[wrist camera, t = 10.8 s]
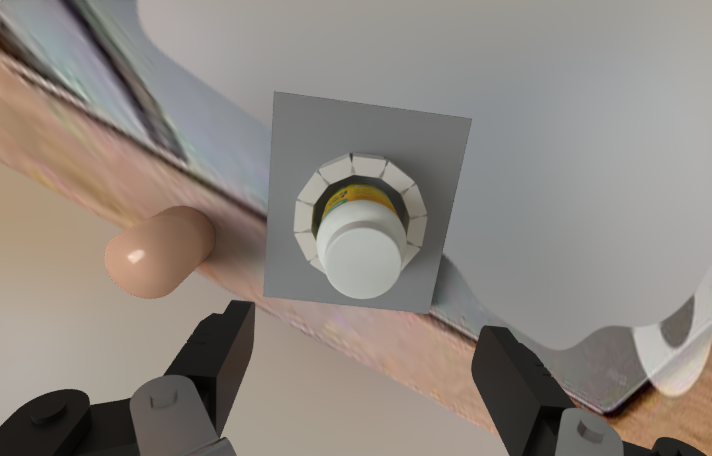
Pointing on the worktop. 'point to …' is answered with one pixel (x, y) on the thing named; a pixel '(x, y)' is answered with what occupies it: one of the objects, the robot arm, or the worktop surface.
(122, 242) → the peach pill-shaped knob
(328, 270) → the supplement bottle
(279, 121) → the collar board
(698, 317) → the worktop surface
